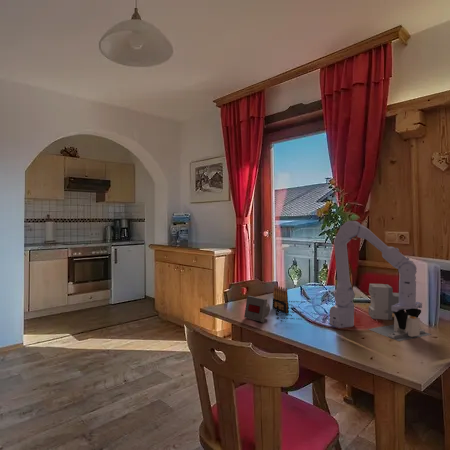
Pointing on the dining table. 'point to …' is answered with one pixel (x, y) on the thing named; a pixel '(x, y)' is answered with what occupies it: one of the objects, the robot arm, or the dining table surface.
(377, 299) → the circuit breaker
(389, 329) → the board
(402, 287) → the robot arm
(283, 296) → the ammunition clip
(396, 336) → the din rail
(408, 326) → the block
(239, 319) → the dining table surface
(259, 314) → the voltmeter
